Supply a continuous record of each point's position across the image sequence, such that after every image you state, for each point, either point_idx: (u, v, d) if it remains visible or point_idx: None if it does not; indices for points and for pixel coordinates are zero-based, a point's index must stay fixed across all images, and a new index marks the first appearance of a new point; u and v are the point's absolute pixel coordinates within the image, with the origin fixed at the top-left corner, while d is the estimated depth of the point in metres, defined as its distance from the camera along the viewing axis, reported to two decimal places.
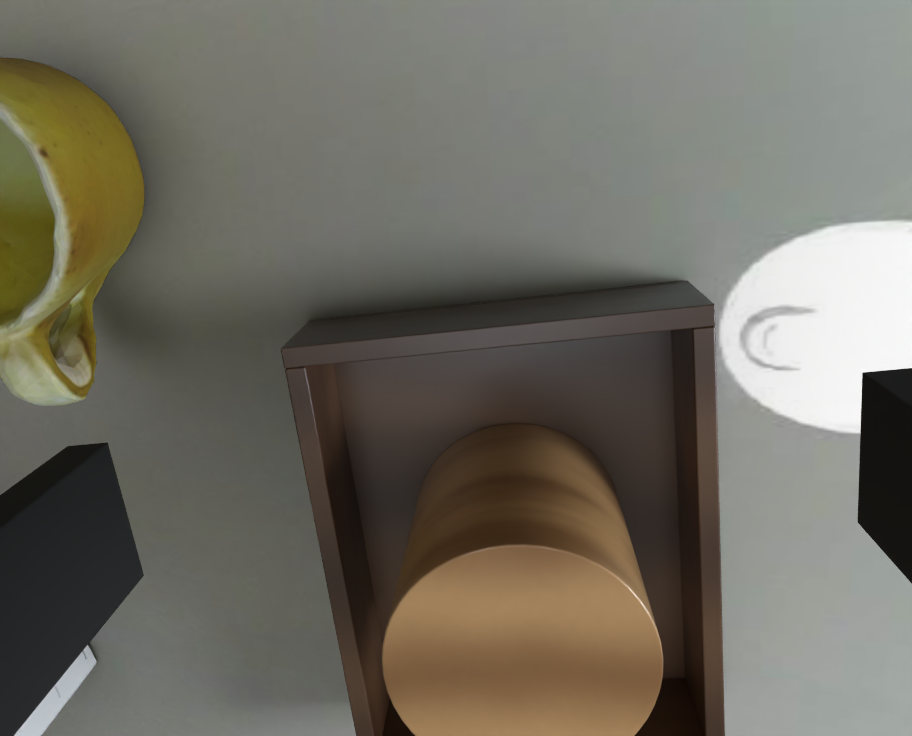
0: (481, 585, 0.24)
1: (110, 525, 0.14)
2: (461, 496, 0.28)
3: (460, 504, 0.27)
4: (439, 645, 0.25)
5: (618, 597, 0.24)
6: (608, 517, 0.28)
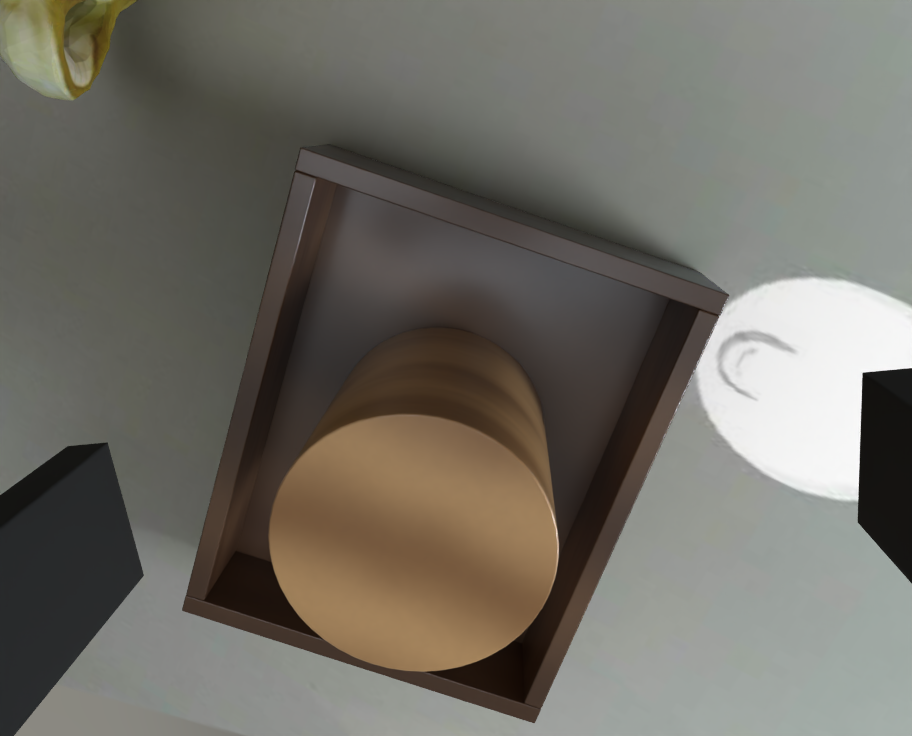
0: (414, 452, 0.23)
1: (110, 525, 0.14)
2: (416, 370, 0.26)
3: (414, 375, 0.26)
4: (344, 495, 0.23)
5: (538, 517, 0.23)
6: (544, 450, 0.27)
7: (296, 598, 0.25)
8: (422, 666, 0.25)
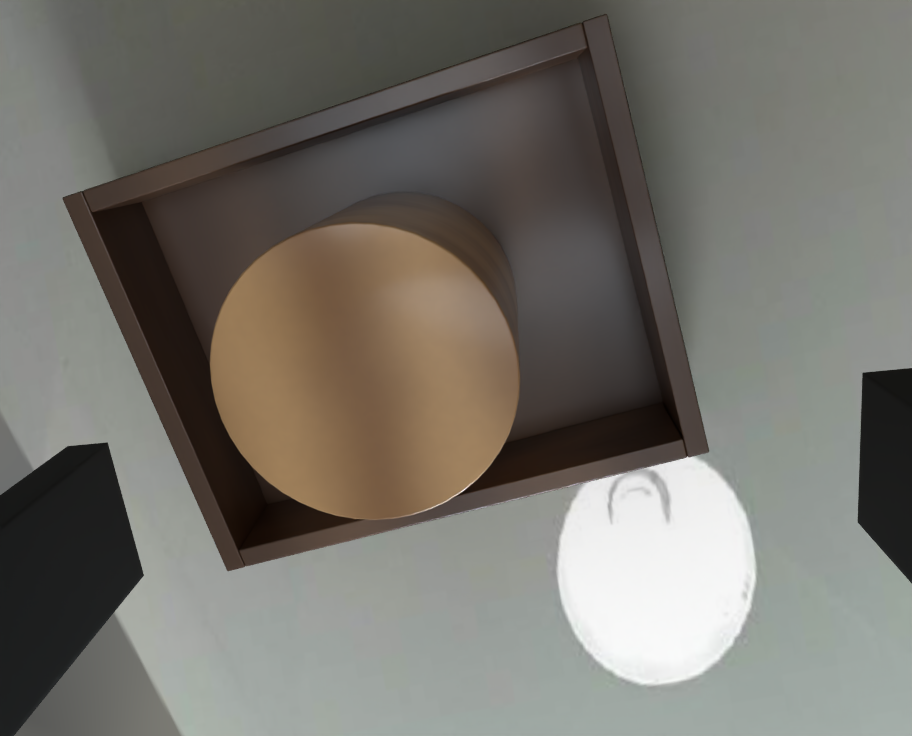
0: (458, 320, 0.21)
1: (110, 525, 0.14)
2: (489, 259, 0.25)
3: (489, 263, 0.24)
4: (369, 287, 0.21)
5: (475, 459, 0.23)
6: None
7: (230, 312, 0.22)
8: (257, 463, 0.23)
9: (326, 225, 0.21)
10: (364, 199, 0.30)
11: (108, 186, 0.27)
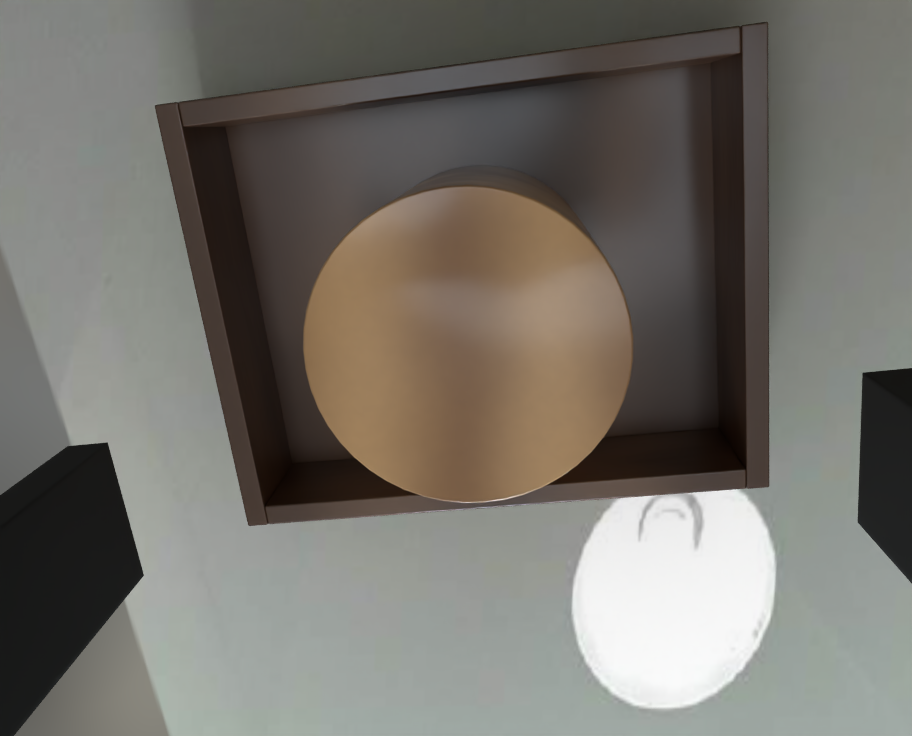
0: (580, 310, 0.20)
1: (110, 525, 0.14)
2: None
3: None
4: (495, 259, 0.20)
5: (564, 456, 0.22)
6: None
7: (341, 259, 0.20)
8: (333, 421, 0.22)
9: (464, 185, 0.20)
10: (461, 167, 0.29)
11: (207, 102, 0.25)
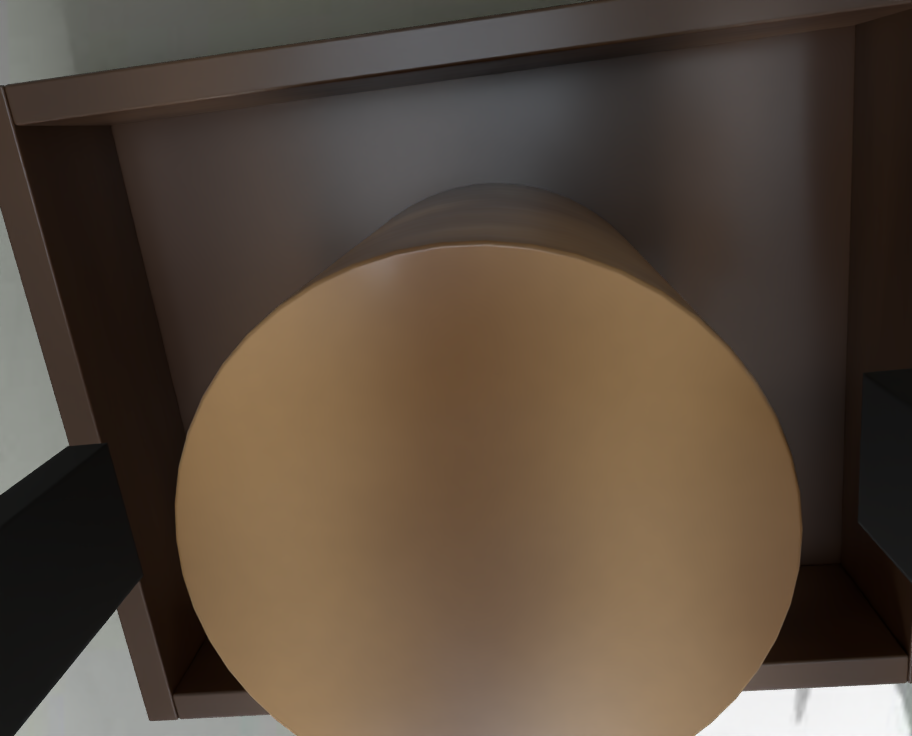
0: (702, 479, 0.10)
1: (110, 525, 0.14)
2: None
3: None
4: (538, 383, 0.10)
5: (660, 730, 0.12)
6: None
7: (239, 380, 0.11)
8: (237, 663, 0.12)
9: (478, 241, 0.10)
10: (466, 186, 0.19)
11: (50, 85, 0.15)
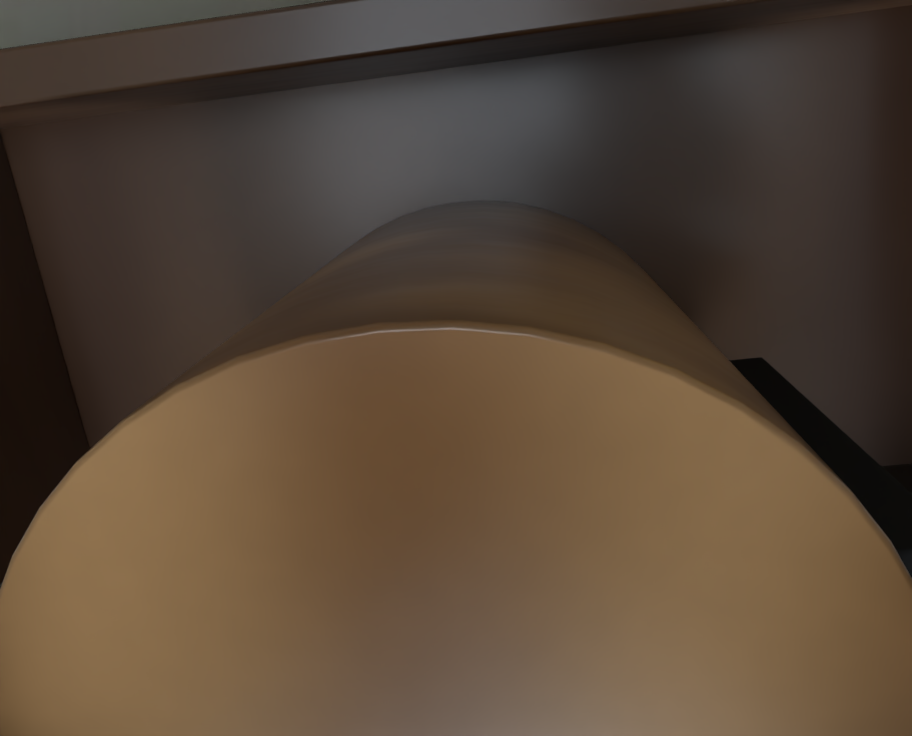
0: (798, 688, 0.07)
1: None
2: None
3: None
4: (540, 544, 0.06)
5: None
6: None
7: (67, 533, 0.07)
8: None
9: (441, 322, 0.06)
10: (444, 205, 0.15)
11: None
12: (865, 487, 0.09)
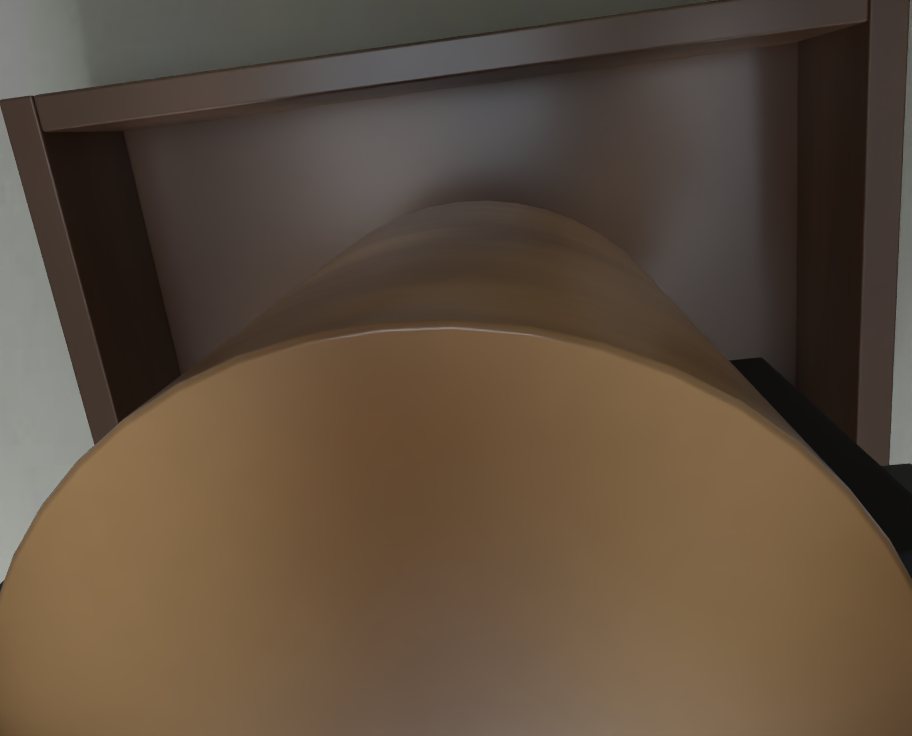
0: (797, 687, 0.07)
1: None
2: None
3: None
4: (540, 542, 0.06)
5: None
6: None
7: (68, 532, 0.07)
8: None
9: (441, 322, 0.06)
10: (444, 205, 0.15)
11: (76, 96, 0.17)
12: (865, 487, 0.09)
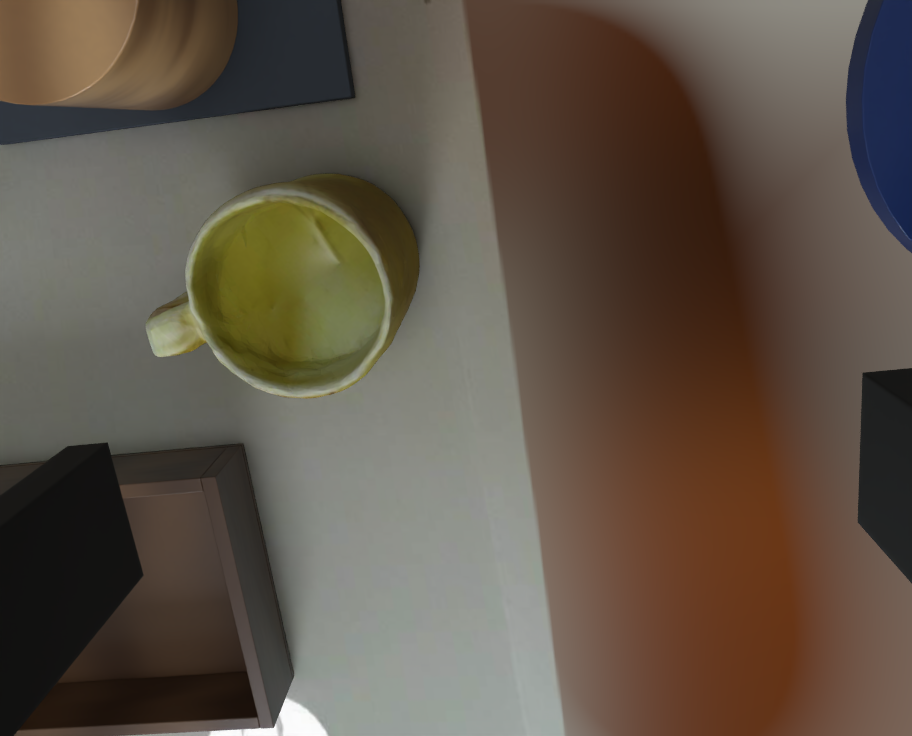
0: None
1: (110, 525, 0.14)
2: None
3: None
4: None
5: (100, 56, 0.27)
6: (165, 70, 0.31)
7: None
8: None
9: None
10: None
11: None
12: None
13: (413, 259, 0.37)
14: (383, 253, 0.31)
